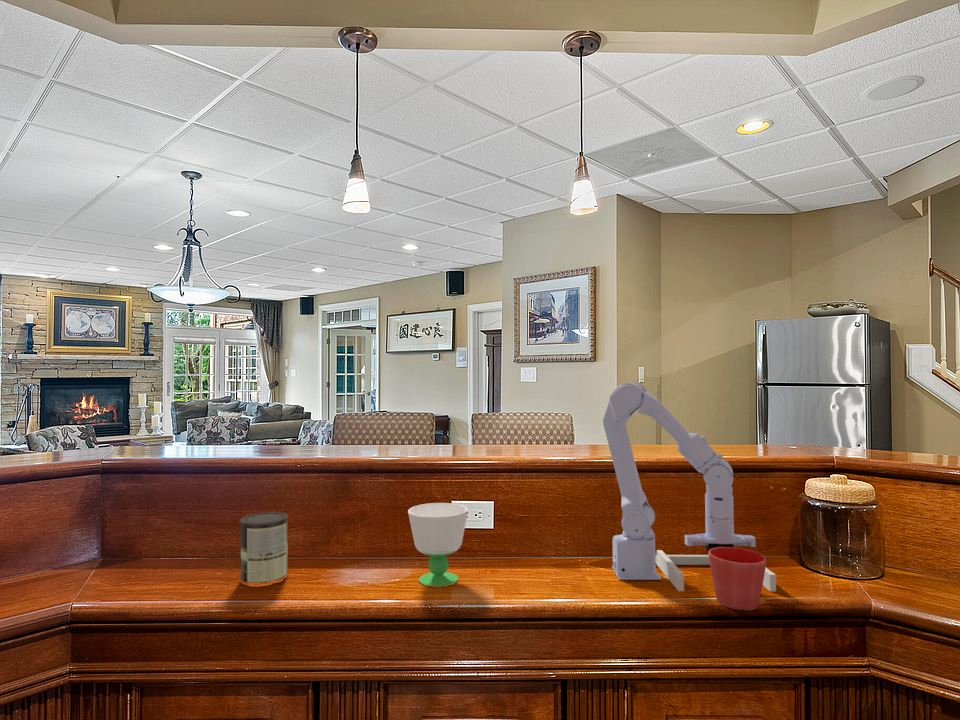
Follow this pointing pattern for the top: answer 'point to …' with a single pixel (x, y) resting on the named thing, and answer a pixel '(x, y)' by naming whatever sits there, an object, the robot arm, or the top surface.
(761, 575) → the flower pot
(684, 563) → the u-shaped frame
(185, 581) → the top surface
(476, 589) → the top surface
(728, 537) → the robot arm
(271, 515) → the coffee can
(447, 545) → the cup
